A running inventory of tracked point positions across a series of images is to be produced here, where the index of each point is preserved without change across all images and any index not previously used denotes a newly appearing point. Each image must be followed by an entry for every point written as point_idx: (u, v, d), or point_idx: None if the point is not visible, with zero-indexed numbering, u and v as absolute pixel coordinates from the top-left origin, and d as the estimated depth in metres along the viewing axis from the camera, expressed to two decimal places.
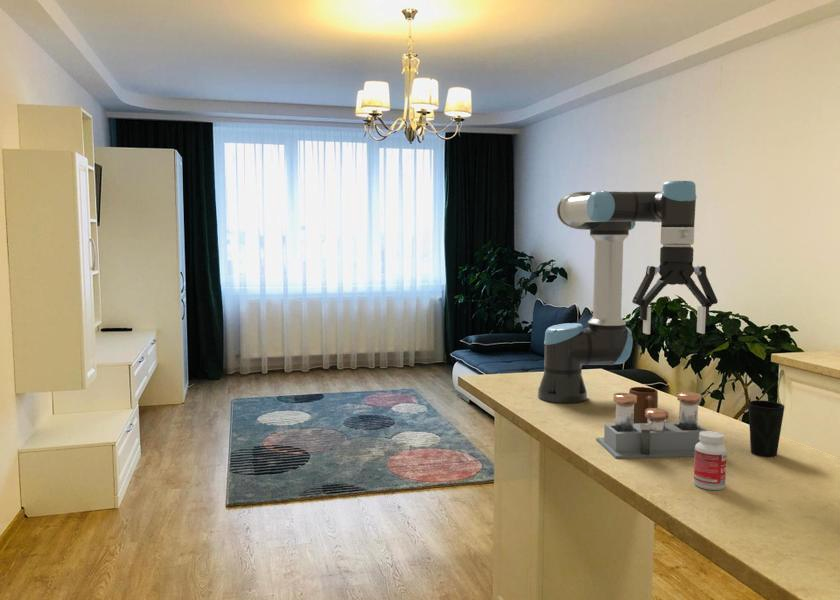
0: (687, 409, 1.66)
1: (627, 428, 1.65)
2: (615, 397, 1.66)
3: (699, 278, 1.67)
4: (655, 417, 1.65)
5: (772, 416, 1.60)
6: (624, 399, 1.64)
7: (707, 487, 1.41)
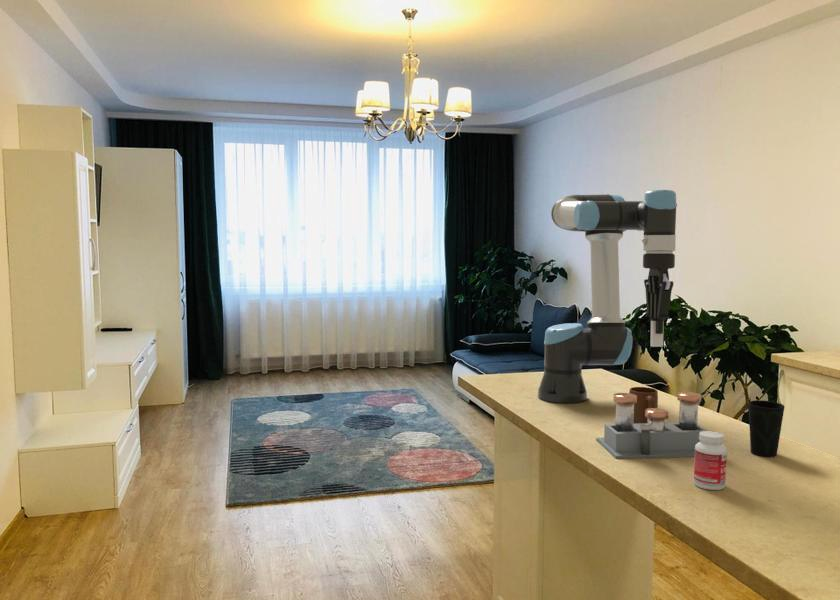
0: (687, 409, 1.66)
1: (627, 428, 1.65)
2: (615, 397, 1.66)
3: None
4: (655, 417, 1.65)
5: (772, 416, 1.60)
6: (624, 399, 1.64)
7: (707, 487, 1.41)
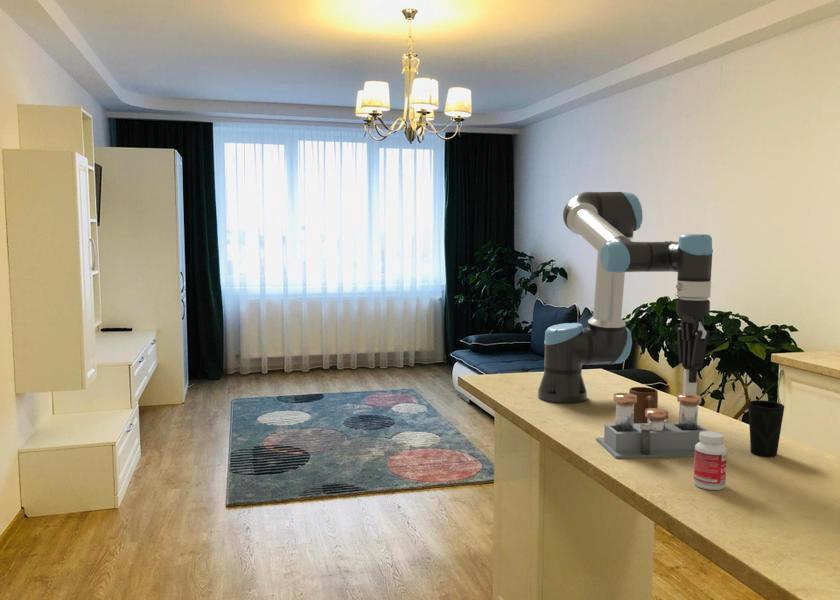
0: (687, 410, 1.66)
1: (627, 428, 1.65)
2: (615, 397, 1.66)
3: None
4: (655, 417, 1.65)
5: (772, 416, 1.60)
6: (624, 399, 1.64)
7: (707, 487, 1.41)
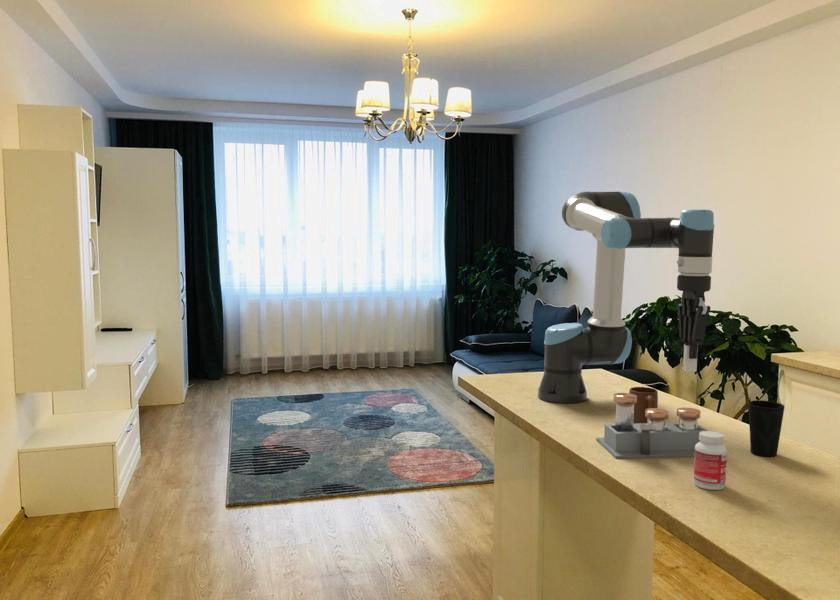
0: (686, 425, 1.67)
1: (627, 428, 1.65)
2: (615, 397, 1.66)
3: None
4: (655, 417, 1.65)
5: (772, 416, 1.60)
6: (624, 399, 1.64)
7: (707, 487, 1.41)
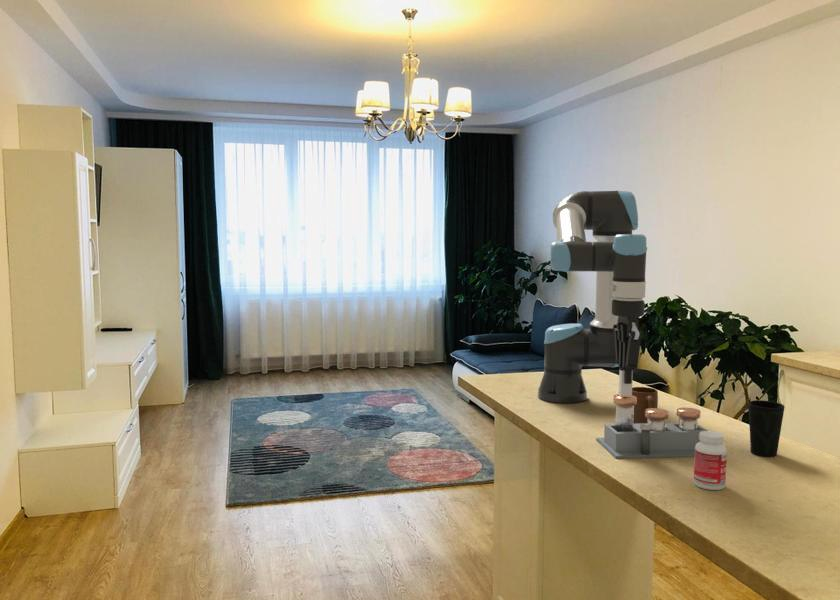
0: (686, 425, 1.67)
1: (627, 429, 1.66)
2: (615, 398, 1.66)
3: None
4: (655, 417, 1.65)
5: (772, 416, 1.60)
6: (624, 400, 1.64)
7: (707, 487, 1.41)
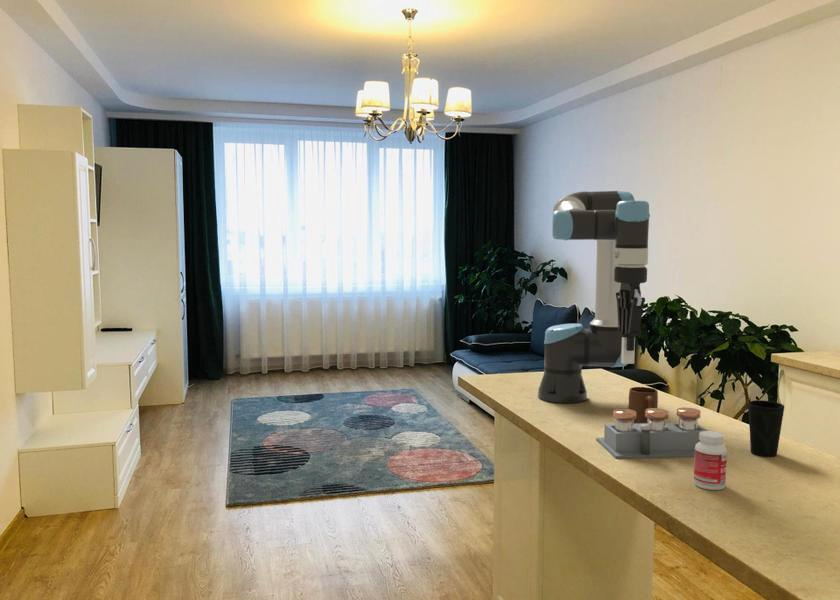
0: (686, 425, 1.67)
1: None
2: (615, 413, 1.67)
3: None
4: (655, 417, 1.65)
5: (772, 416, 1.60)
6: (623, 415, 1.65)
7: (707, 487, 1.41)
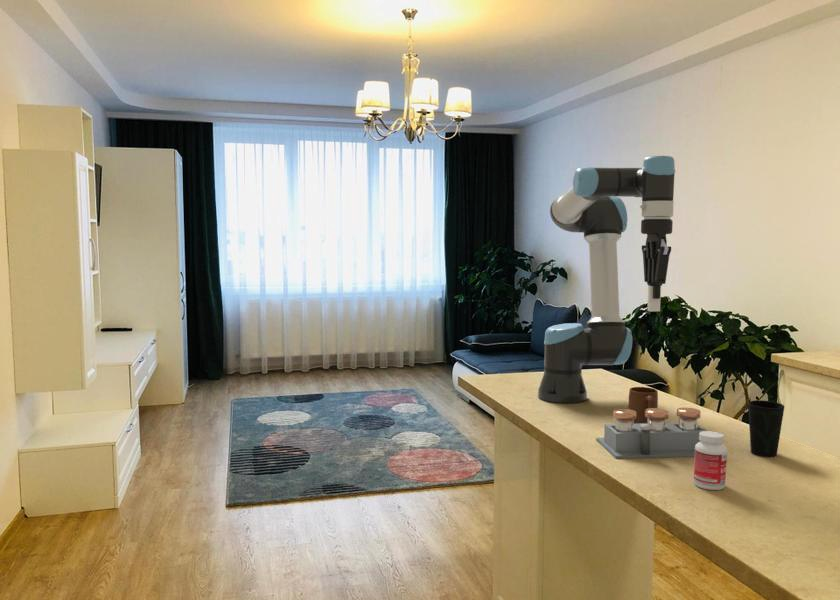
0: (686, 425, 1.67)
1: None
2: (615, 413, 1.67)
3: None
4: (655, 417, 1.65)
5: (772, 416, 1.60)
6: (623, 415, 1.65)
7: (707, 487, 1.41)
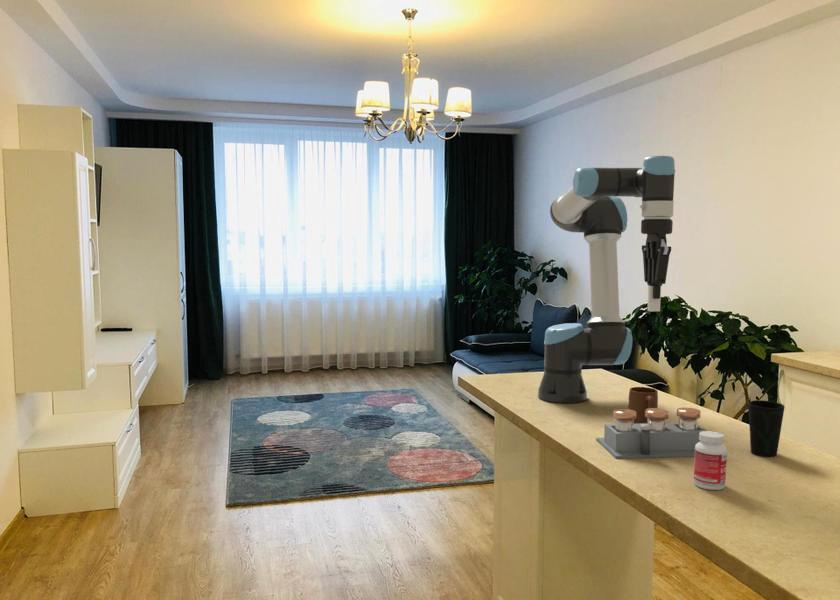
0: (686, 425, 1.67)
1: None
2: (615, 413, 1.67)
3: None
4: (655, 417, 1.65)
5: (772, 416, 1.60)
6: (623, 415, 1.65)
7: (707, 487, 1.41)
